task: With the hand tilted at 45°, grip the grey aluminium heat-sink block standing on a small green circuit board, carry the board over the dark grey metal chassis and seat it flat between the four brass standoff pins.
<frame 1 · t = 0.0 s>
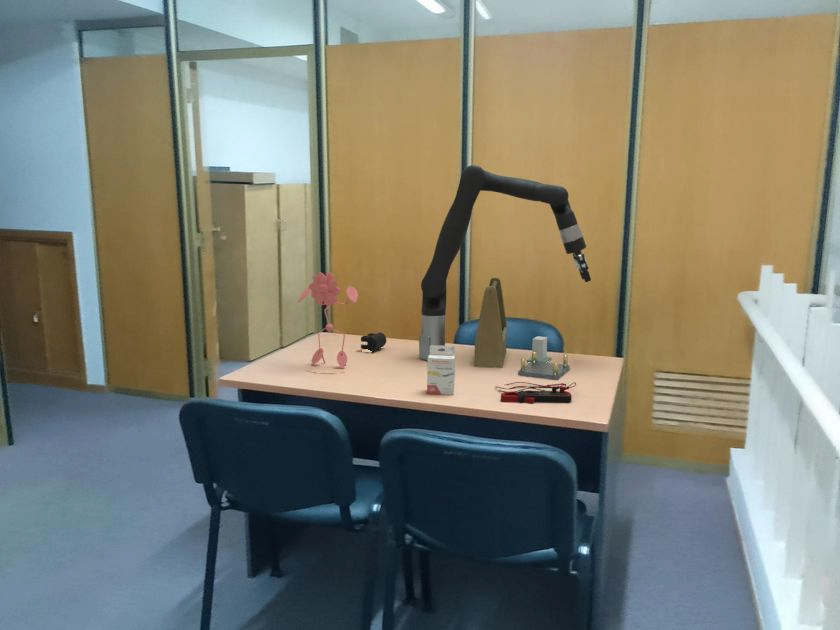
hand: (586, 280, 247), 31 cm above the table, tool tilted 20°, fingers open, 8 cm apart
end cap: (373, 351, 272), on the table
figurine: (325, 368, 241), on the table
board module: (539, 361, 255), on the table
ink cartridge box: (440, 393, 212), on the table
digital clamp meter: (536, 395, 212), on the table
caddy: (491, 359, 259), on the table
standoff chassis: (544, 372, 238), on the table
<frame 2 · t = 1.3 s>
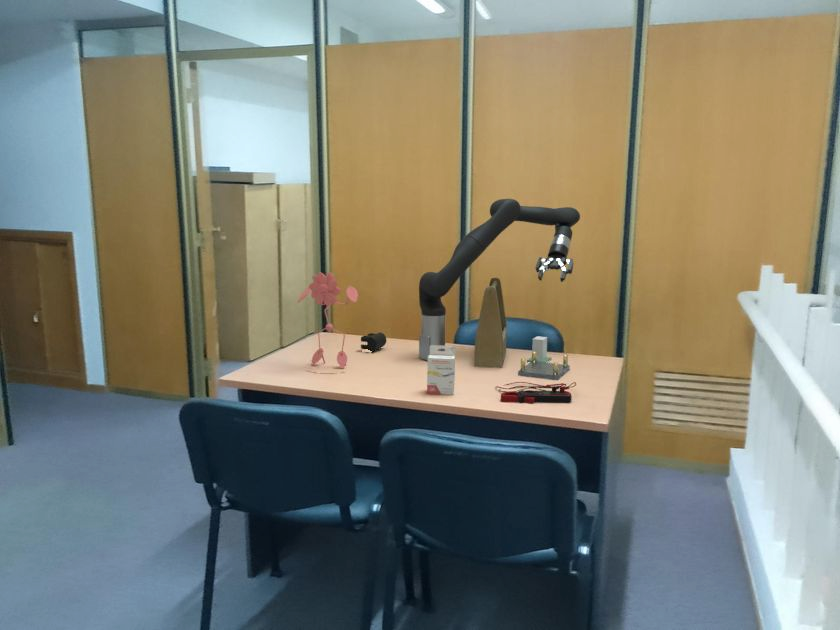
hand: (550, 279, 261), 30 cm above the table, tool tilted 45°, fingers open, 8 cm apart
nothing on the table moved.
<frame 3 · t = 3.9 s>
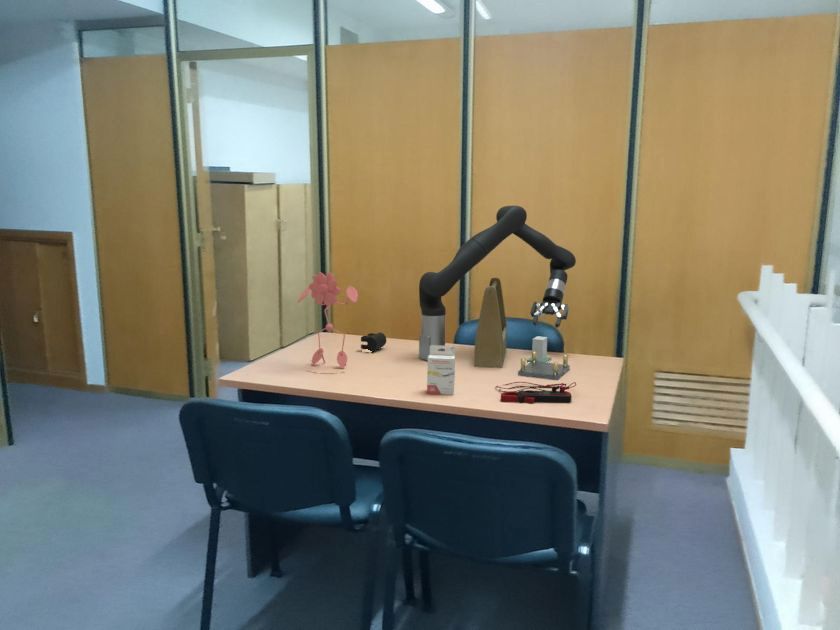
hand: (545, 325, 260), 12 cm above the table, tool tilted 45°, fingers open, 8 cm apart
nothing on the table moved.
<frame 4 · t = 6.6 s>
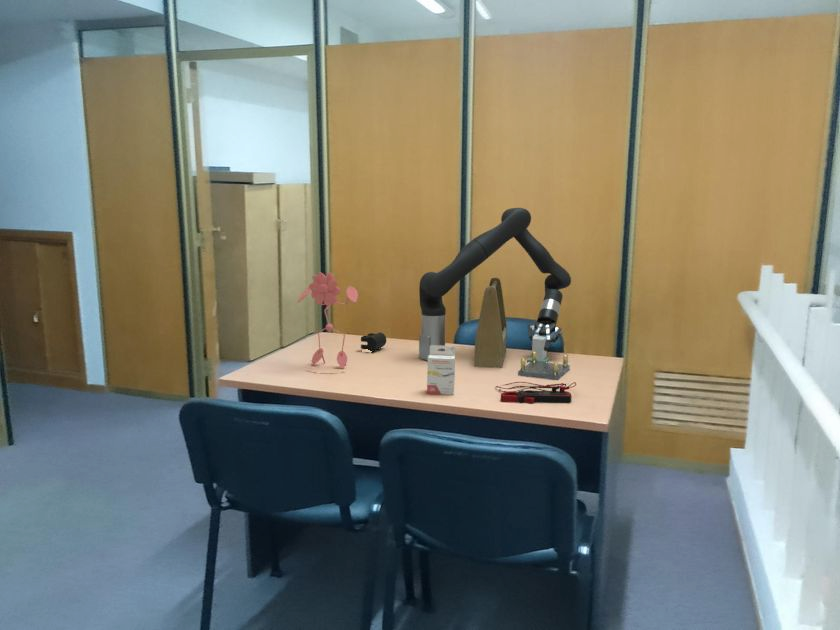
hand: (539, 349, 254), 5 cm above the table, tool tilted 45°, fingers closed on board module, 4 cm apart
board module: (539, 360, 255), on the table, touching gripper
everything else where it was.
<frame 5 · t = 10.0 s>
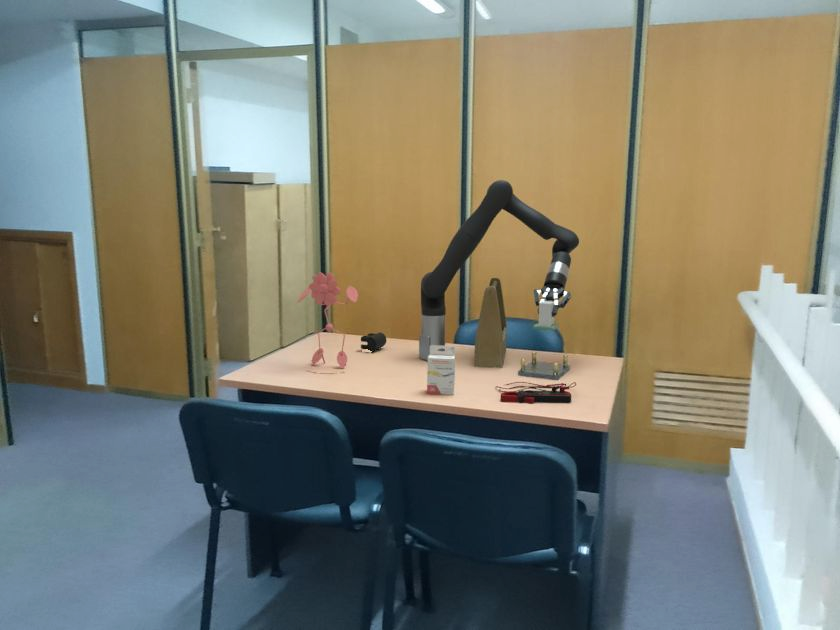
hand: (546, 314, 235), 21 cm above the table, tool tilted 45°, fingers closed on board module, 4 cm apart
board module: (546, 327, 236), point 16 cm above the table, touching gripper
everything else where it was.
when the fingers open (7 cm above the table, at t = 13.4 s): board module stays where it is, resting on standoff chassis.
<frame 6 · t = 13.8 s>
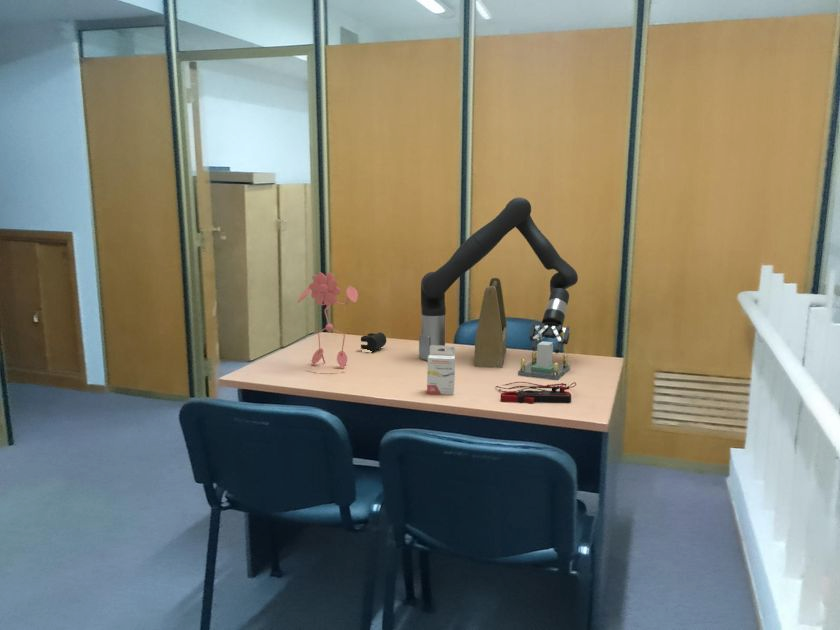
hand: (545, 350, 236), 8 cm above the table, tool tilted 45°, fingers open, 7 cm apart
board module: (544, 368, 238), point 1 cm above the table, touching standoff chassis
everything else where it was.
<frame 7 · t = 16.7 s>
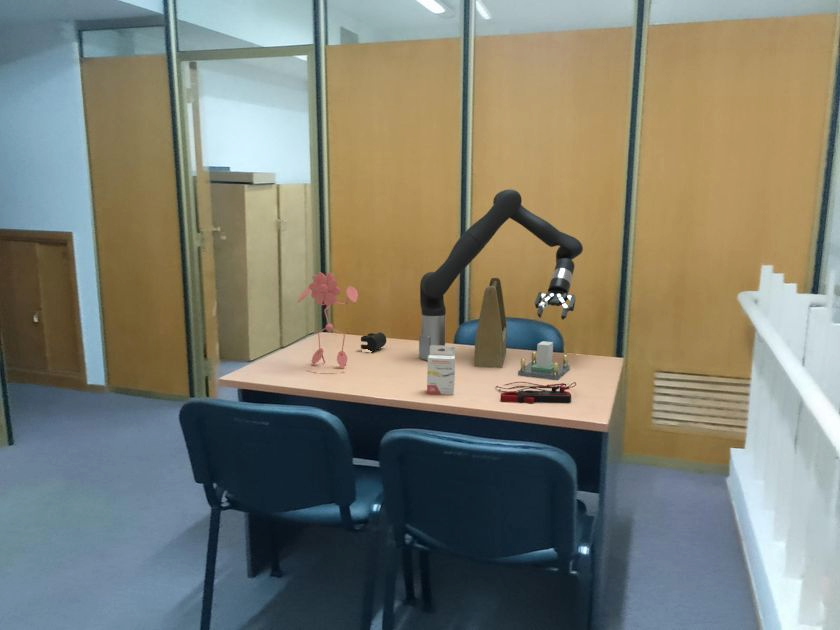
hand: (550, 317, 244), 18 cm above the table, tool tilted 45°, fingers open, 8 cm apart
nothing on the table moved.
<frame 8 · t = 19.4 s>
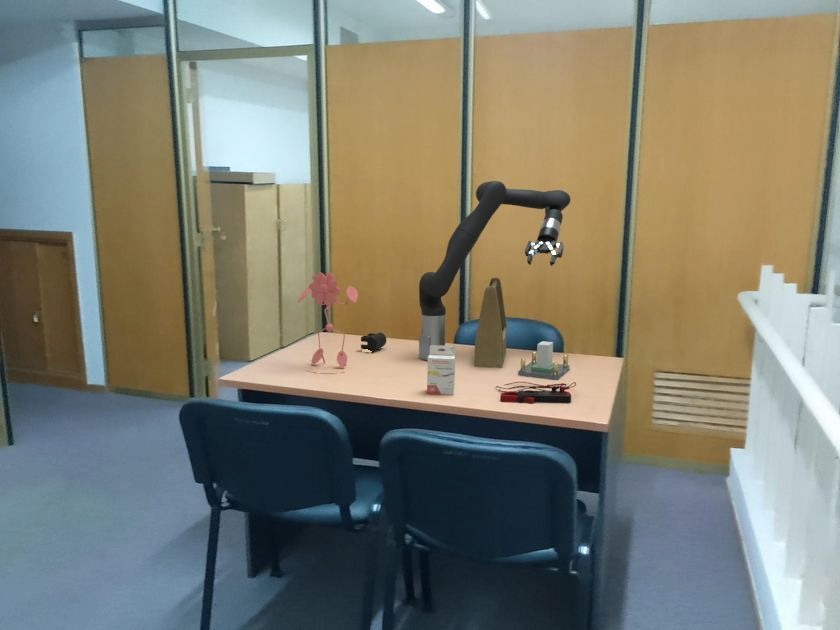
hand: (540, 263, 254), 37 cm above the table, tool tilted 45°, fingers open, 8 cm apart
nothing on the table moved.
at the end: board module 0.3 cm off-centre on the standoff chassis, point 1.5 cm above the standoff chassis's base; board module tilted 0°; the gripper is holding nothing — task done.
